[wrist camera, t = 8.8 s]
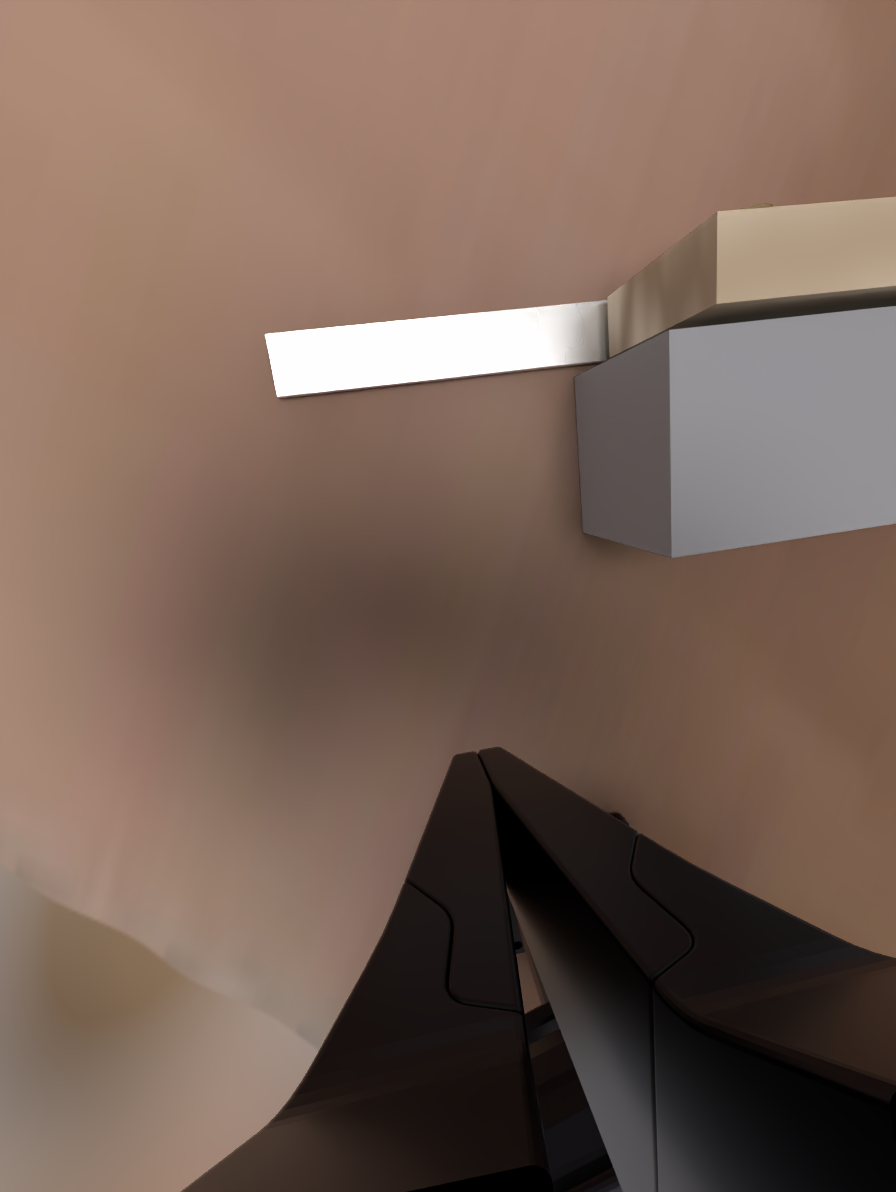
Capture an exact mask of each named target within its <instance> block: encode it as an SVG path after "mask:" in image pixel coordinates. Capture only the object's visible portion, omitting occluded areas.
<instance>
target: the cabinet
mask: <svg viewBox="0 0 896 1192" xmlns="http://www.w3.org/2000/svg"><path fill="white" fill-rule="evenodd" d="M574 382H575V400H576V418H577V436H578V454H579V472H580V489H581V507H582V525H583V533H586V534H590V535H593V536H597V537H600V538H604V539H607V540H611V541H614V542H618V543H621V544H625V545H628V546H632V547H635V548H639V549H642V550H646V551H649V552H652V553H656V554H659V555H663V556H666V557H670V558H675V557H682V556H688V555H694V554H701V553H707V552H714V551H720V550H727V549H733V548H740V547H746V546H753V545H759V544H766V543H772V542H779V541H785V540H792V539H798V538H805V537H811V536H818V535H824V534H831V533H837V532H844V531H850V530H856V529H863V528H869V527H876V526H882V525H889V524H895V523H896V306H890V307H880V308H871V309H861V310H852V311H843V312H833V313H824V314H814V315H805V316H796V317H786V318H777V319H767V320H758V321H749V322H739V323H730V324H720V325H711V326H702V327H692V328H683V329H673V330H668V331H666V332H664V333H662V334H660V335H658V336H656V337H654V338H652V339H650V340H648V341H646V342H644V343H642V344H640V345H638V346H636V347H634V348H632V349H630V350H628V351H626V352H624V353H622V354H620V355H618V356H616V357H614V358H612V359H610V360H608V361H606V362H604V363H602V364H600V365H598V366H596V367H593V368H591V369H589V370H587V371H585V372H583V373H581V374H579V375H577V376H575V377H574Z"/></svg>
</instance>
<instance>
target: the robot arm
mask: <svg viewBox="0 0 896 1192" xmlns="http://www.w3.org/2000/svg"><path fill="white" fill-rule="evenodd" d="M517 941H518V942H517ZM522 952H526V955H527V959H528V962H529V965H530V968H531V972H532V975H533V978H534V982H535V985H536V988H537V991H538V995H539V998H540V1001H541V1004H542V1005H541V1006H539V1007H537V1008H535V1009H533V1010H531V1011H529V1012H527V1013H525V1014H524V1007H523V1000H522V993H521V986H520V979H519V972H518V965H517V957H516V954H517V953H522ZM181 1192H896V958H893V957H889V956H886V955H882V954H878V953H875V952H872V951H869V950H866V949H864V948H861V947H858V946H856V945H853V944H851V943H849V942H847V941H845V940H843V939H840V938H838V937H836V936H834V935H832V934H830V933H828V932H826V931H824V930H822V929H820V928H818V927H816V926H814V925H812V924H810V923H808V922H806V921H804V920H802V919H800V918H798V917H796V916H794V915H792V914H790V913H788V912H786V911H784V910H782V909H780V908H778V907H776V906H774V905H772V904H770V903H768V902H766V901H764V900H762V899H760V898H758V897H756V896H754V895H752V894H750V893H748V892H746V891H744V890H742V889H740V888H738V887H736V886H734V885H732V884H730V883H728V882H726V881H724V880H722V879H720V878H719V877H717V876H715V875H713V874H711V873H709V872H707V871H705V870H703V869H701V868H699V867H698V866H696V865H694V864H692V863H690V862H688V861H687V860H685V859H683V858H682V857H680V856H678V855H676V854H675V853H673V852H671V851H670V850H668V849H666V848H664V847H663V846H661V845H659V844H658V843H656V842H654V841H653V840H651V839H650V838H648V837H646V836H645V835H643V834H638V832H637V831H636V830H635V829H633V828H631V827H630V826H629V824H628V822H627V821H626V819H625V818H624V817H623V816H622V815H610V814H608V813H607V812H605V811H604V810H602V809H600V808H599V807H597V806H595V805H594V804H592V803H591V802H589V801H587V800H586V799H584V798H582V797H581V796H579V795H578V794H576V793H574V792H573V791H571V790H569V789H568V788H566V787H565V786H563V785H561V784H560V783H558V782H556V781H555V780H553V779H551V778H550V777H548V776H547V775H545V774H543V773H542V772H540V771H538V770H537V769H535V768H534V767H532V766H530V765H529V764H527V763H525V762H524V761H522V760H521V759H519V758H517V757H516V756H514V755H512V754H511V753H509V752H508V751H506V750H504V749H503V748H501V747H493V748H488V749H483V750H480V751H479V752H478V754H477V753H476V752H473V751H472V752H467V753H461V754H456V755H455V756H454V757H453V759H452V761H451V764H450V766H449V769H448V771H447V774H446V776H445V779H444V782H443V784H442V787H441V789H440V792H439V794H438V797H437V799H436V802H435V805H434V807H433V810H432V812H431V815H430V817H429V820H428V823H427V825H426V828H425V830H424V833H423V835H422V838H421V840H420V843H419V846H418V848H417V851H416V853H415V856H414V858H413V861H412V863H411V866H410V869H409V871H408V874H407V876H406V879H405V883H404V884H403V886H402V888H401V891H400V894H399V896H398V899H397V901H396V904H395V906H394V909H393V911H392V913H391V915H390V918H389V920H388V922H387V925H386V927H385V929H384V931H383V934H382V936H381V938H380V940H379V942H378V943H377V945H376V947H375V949H374V951H373V953H372V955H371V957H370V959H369V961H368V963H367V965H366V967H365V969H364V970H363V972H362V974H361V976H360V978H359V979H358V981H357V983H356V985H355V987H354V988H353V990H352V992H351V994H350V996H349V997H348V999H347V1001H346V1003H345V1005H344V1007H343V1008H342V1010H341V1012H340V1014H339V1016H338V1017H337V1019H336V1021H335V1023H334V1025H333V1026H332V1028H331V1030H330V1032H329V1034H328V1035H327V1037H326V1039H325V1041H324V1043H323V1044H322V1046H321V1048H320V1050H319V1052H318V1054H317V1055H316V1057H315V1059H314V1061H313V1063H312V1064H311V1066H310V1068H309V1070H308V1071H307V1073H306V1075H305V1076H304V1078H303V1080H302V1082H301V1083H300V1084H299V1086H298V1087H297V1089H296V1090H295V1092H294V1093H293V1095H292V1096H291V1098H290V1099H289V1100H288V1101H287V1103H286V1104H285V1105H284V1106H283V1108H282V1109H281V1110H280V1111H279V1113H278V1114H277V1115H276V1116H275V1117H274V1118H273V1119H272V1120H271V1121H270V1122H269V1123H268V1124H267V1125H266V1126H265V1127H264V1128H263V1129H261V1130H260V1131H259V1132H258V1133H257V1134H255V1135H254V1136H253V1137H251V1138H250V1139H249V1140H248V1141H246V1142H245V1143H244V1144H242V1145H241V1146H240V1147H238V1148H237V1149H236V1150H234V1151H233V1152H232V1153H231V1154H229V1155H228V1156H227V1157H225V1158H224V1159H223V1160H222V1161H220V1162H219V1163H218V1164H216V1165H215V1166H214V1167H212V1168H211V1169H210V1170H208V1171H207V1172H206V1173H204V1174H203V1175H202V1176H201V1177H199V1178H198V1179H197V1180H195V1181H194V1182H193V1183H191V1184H190V1185H189V1186H188V1187H186V1188H185V1189H184V1190H182V1191H181Z"/></svg>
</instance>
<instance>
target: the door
mask: <svg viewBox="0 0 896 1192" xmlns="http://www.w3.org/2000/svg"><path fill="white" fill-rule="evenodd" d="M607 302H608V328H609V353H610V358H611V357H616V356H618V355H620V354H622V353H624V352H626V351H628V350H630V349H632V348H634V347H636V346H638V345H640V344H642V343H644V342H646V341H648V340H650V339H652V338H654V337H656V336H658V335H660V334H662V333H664V332H666V331H668V330H673V329H683V328H692V327H702V326H711V325H720V324H730V323H739V322H749V321H758V320H767V319H777V318H786V317H796V316H805V315H814V314H824V313H833V312H843V311H852V310H861V309H871V308H880V307H890V306H896V197H888V198H875V199H863V200H851V201H839V202H827V203H815V204H803V205H790V206H778V207H774V206H773V205H772V204H758V205H753V206H749V207H746V208H743V209H740V210H730V211H718V212H716V213H715V214H714V215H712V216H711V217H710V218H708V219H707V220H706V221H705V222H703V223H702V224H701V225H699V226H698V227H697V228H696V229H694V230H693V231H692V232H690V233H689V234H688V235H687V236H685V237H684V238H683V239H681V240H680V241H679V242H678V243H676V244H675V245H674V246H672V247H671V248H670V249H668V250H667V251H666V252H665V253H663V254H662V255H661V256H659V257H658V258H657V259H656V260H654V261H653V262H652V263H650V264H649V265H648V266H647V267H645V268H644V269H643V270H641V271H640V272H639V273H638V274H636V275H635V276H634V277H632V278H631V279H630V280H628V281H627V282H626V283H625V284H623V285H622V286H621V287H619V288H618V289H617V290H616V291H614V292H613V293H612V294H610V295H609V296H608V297H607Z"/></svg>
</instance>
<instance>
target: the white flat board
mask: <svg viewBox="0 0 896 1192" xmlns="http://www.w3.org/2000/svg"><path fill="white" fill-rule="evenodd" d="M265 337H266V342H267V347H268V352H269V357H270V362H271V367H272V372H273V377H274V382H275V387H276V392H277V397H279V398H280V399H281V398H290V397H299V396H308V395H317V394H326V393H335V392H344V391H353V390H362V389H371V388H379V387H388V386H397V385H406V384H415V383H424V382H433V381H442V380H451V379H460V378H469V377H478V376H487V375H496V374H505V373H514V372H523V371H532V370H541V369H550V368H559V367H567V366H576V365H585V364H594V363H603V362H606V361H608V360H610V359H612V358H614V357H611V358H610V353H609V328H608V302H607V300H604V301H594V302H584V303H574V304H564V305H554V306H544V307H533V308H523V309H513V310H503V311H493V312H483V313H473V314H463V315H453V316H442V317H432V318H422V319H412V320H402V321H392V322H382V323H372V324H362V325H351V326H341V327H331V328H321V329H311V330H301V331H291V332H281V333H270V334H265Z"/></svg>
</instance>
